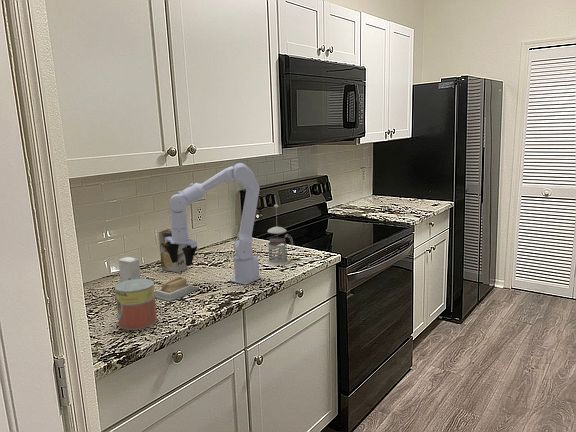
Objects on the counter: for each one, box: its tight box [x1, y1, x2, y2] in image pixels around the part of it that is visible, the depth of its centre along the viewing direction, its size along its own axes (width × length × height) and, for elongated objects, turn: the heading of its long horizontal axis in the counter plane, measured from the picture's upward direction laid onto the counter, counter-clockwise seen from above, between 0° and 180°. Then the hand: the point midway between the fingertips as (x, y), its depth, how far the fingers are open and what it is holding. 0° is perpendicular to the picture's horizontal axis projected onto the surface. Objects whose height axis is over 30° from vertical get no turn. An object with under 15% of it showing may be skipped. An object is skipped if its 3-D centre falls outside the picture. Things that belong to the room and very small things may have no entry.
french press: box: [266, 203, 294, 266], centre depth 198 cm, size 10×12×25 cm
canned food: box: [114, 277, 158, 331], centre depth 142 cm, size 11×11×12 cm
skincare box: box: [118, 256, 141, 283], centre depth 169 cm, size 6×4×12 cm
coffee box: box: [158, 228, 188, 273], centre depth 193 cm, size 9×6×16 cm
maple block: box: [161, 276, 188, 293], centre depth 167 cm, size 4×8×4 cm, turn 146°
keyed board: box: [154, 282, 200, 303], centre depth 167 cm, size 14×10×2 cm
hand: (182, 263), depth 173 cm, fingers open, 7 cm apart
